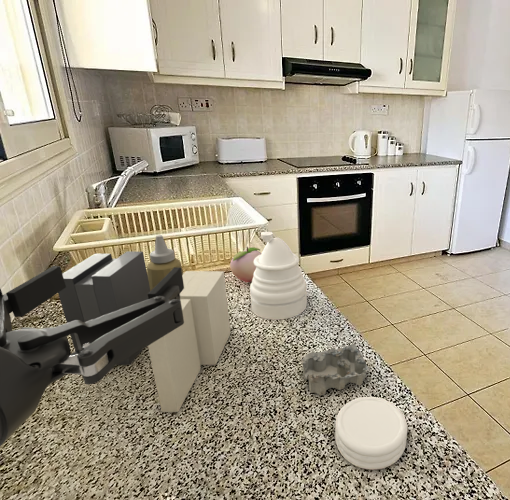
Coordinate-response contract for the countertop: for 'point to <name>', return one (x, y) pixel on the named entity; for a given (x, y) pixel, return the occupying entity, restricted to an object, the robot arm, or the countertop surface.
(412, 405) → the countertop surface
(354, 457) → the white jar lid
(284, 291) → the honey pot
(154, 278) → the squeeze bottle
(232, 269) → the decorative fruit
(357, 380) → the egg carton
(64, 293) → the grey books
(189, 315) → the thin white book
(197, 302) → the white books
